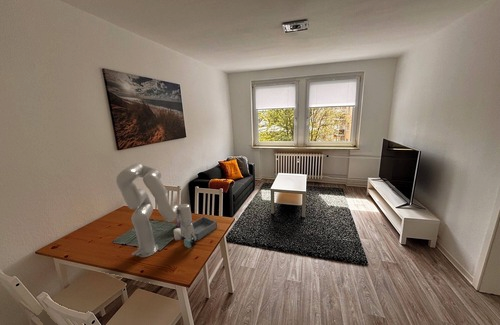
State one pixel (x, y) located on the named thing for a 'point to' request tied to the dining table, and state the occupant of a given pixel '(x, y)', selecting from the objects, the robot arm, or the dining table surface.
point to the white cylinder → (177, 234)
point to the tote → (203, 227)
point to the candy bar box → (178, 221)
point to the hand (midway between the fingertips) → (189, 243)
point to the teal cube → (187, 243)
